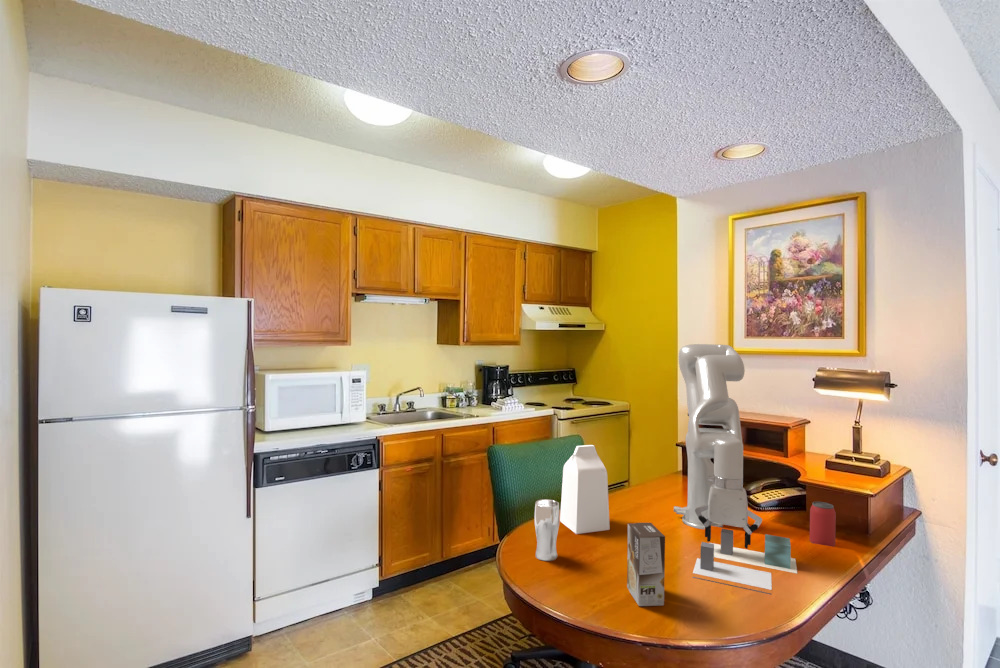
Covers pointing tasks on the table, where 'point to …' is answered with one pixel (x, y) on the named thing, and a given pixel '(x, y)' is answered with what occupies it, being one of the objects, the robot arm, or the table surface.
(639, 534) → the coffee box
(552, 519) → the beer glass
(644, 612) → the table surface
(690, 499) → the robot arm
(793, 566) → the strip
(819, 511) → the beer can
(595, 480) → the milk
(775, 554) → the block
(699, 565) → the empty strip
